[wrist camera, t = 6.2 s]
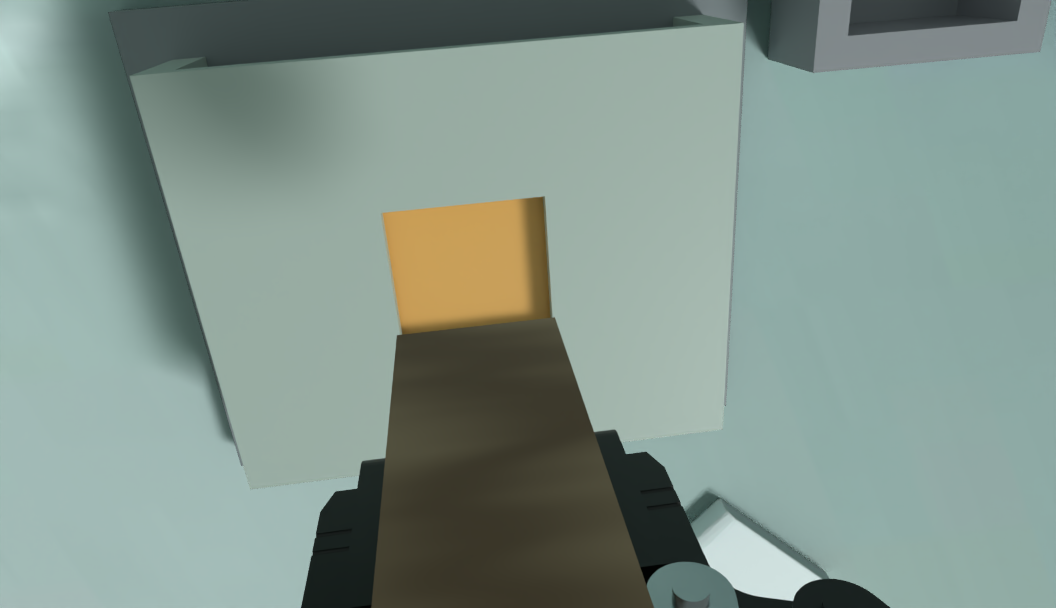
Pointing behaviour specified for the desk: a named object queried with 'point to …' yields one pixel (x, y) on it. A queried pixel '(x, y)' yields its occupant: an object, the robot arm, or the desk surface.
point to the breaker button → (469, 264)
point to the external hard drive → (751, 554)
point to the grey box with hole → (442, 194)
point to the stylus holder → (901, 31)
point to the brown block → (497, 480)
